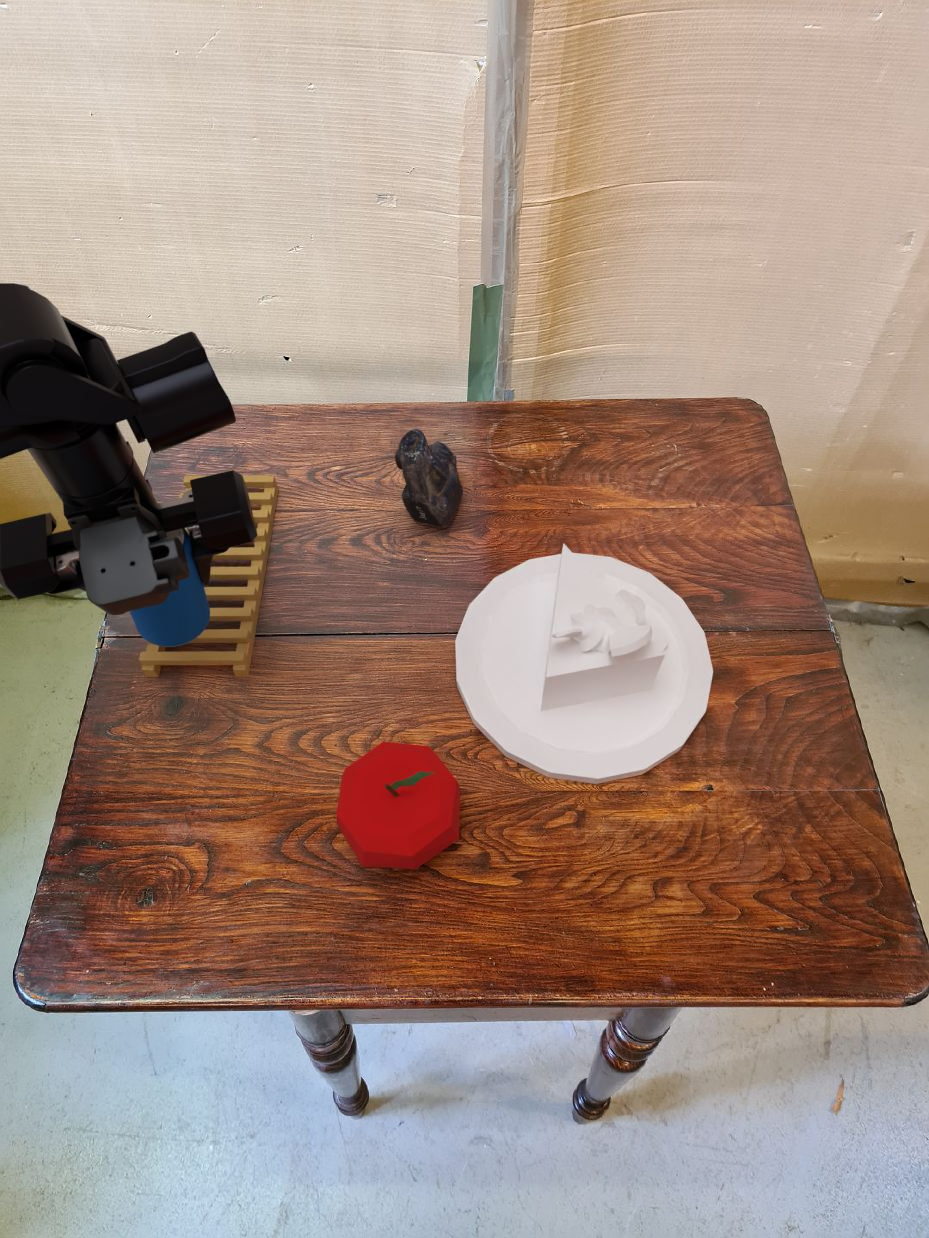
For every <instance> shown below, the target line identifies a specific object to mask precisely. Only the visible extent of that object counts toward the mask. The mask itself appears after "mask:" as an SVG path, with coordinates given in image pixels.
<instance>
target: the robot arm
mask: <svg viewBox="0 0 929 1238" xmlns="http://www.w3.org/2000/svg"><path fill="white" fill-rule="evenodd" d="M125 420H126V421H127V424H128V426H129V428H130V430H131V432H132V434H133V436H134V438H135V440H136V442H137V444H138V445H140V444H141V443H145V442H147V443H148V446H149V447H150V449H151V452H152V454H154V455H155V454H156V453H159V452H162V451H165V450H168V449H171V448H173V447H176V446H180V445H181V444H184V443H186V442H189V441H192V440H194V439H196V438H199V437H202V436H204V435H208V434H210V433H212V432H215V431H217V430H219V429H222V428H225V427H227V426H231V425H233V424H236V423H237V418H236V414H235V410H234V408H233V404H232V402H231V399H230V398H229V396H228V394H227V393H226V391H225V389H224V388H223V385H222V384H221V383H220V381H219V379H218V376H217V375H216V372H215V370H214V368H213V366H212V364H211V362H210V360H209V357H208V355H207V351H206V349H205V347H204V346H203V344H202V342H201V340H200V339H199V337H198V336H197V334H196V333H195V332H194V331H188V332H185V333H182V334H179V335H177V336H174V337H173V338H171V339H169V340H168V341H166V342H164V343H162V344H159V345H156V346H153V347H150V348H147V349H145V350H143V351H139V352H137V353H133V354H131V355H128V356H125V357H121V358H119V359H116V356H115V355H114V352H113V351H112V348H111V347H110V345H109V343H108V341H107V339H106V338H105V336H103V335H101V334H99V333H97V332H95V331H94V330H91V329H89V328H88V327H85V326H83V325H81V324H79V323H78V322H76V321H73V320H71V319H70V318H68V317H66V316H63V315H62V314H61V313H60V311H59V309H58V307H56V305H54V304H53V303H52V301H50V299H49V298H47V297H46V296H44V295H43V294H40V293H39V292H36V291H35V290H33V289H31V288H30V287H29V286H27V285H25V284H20V283H15V282H14V283H13V282H5V283H3V282H0V460H2V459H4V458H7V457H10V456H12V455H15V454H18V453H20V452H23V451H26V450H27V451H28V453H29V454H30V456H31V457H32V459H33V460H34V461H35V463H36V464H37V466H38V467H39V469H40V471H41V472H42V473H43V475H44V476H45V478H46V480H47V481H48V483H49V484H50V485H51V487H52V488H53V490H54V491H55V493H56V494H57V496H58V498H59V499H60V501H61V502H62V507H63V516H64V518H65V519H66V521H67V525H68V526H69V527H70V529H66V530H62V531H57V532H55V530H56V529H57V527H58V525H57V519H56V518H55V517H54V515H53V514H52V513H51V512H46V513H41V514H38V515H33V516H28V517H24V518H19V519H15V520H10V521H7V522H2V523H0V586H1V587H2V588H3V589H4V590H5V591H6V593H8V594H9V595H10V597H12V598H14V599H17V601H19V600H22V599H23V600H24V599H27V598H30V597H34V596H39V595H43V594H49V595H58V594H62V593H67V592H70V591H75V590H81V591H84V592H85V593H86V598H87V599H88V601H89V602H90V603H91V604H93V605H95V607H97V608H99V609H100V610H102V611H104V612H105V613H106V614H108V615H109V616H110V615H111V616H120V615H124V614H126V613H128V612H130V611H132V610H136V609H140V608H144V607H148V606H155V605H159V604H161V603H163V602H164V601H165V600H166V599H167V598H168V595H169V592H173V591H177V590H179V585H178V583H179V581H180V580H183V579H187V578H189V576H190V572H189V567H188V563H187V559H186V555H185V551H184V547H183V544H182V542H181V541H180V540H179V538H178V537H176V536H174V537H170V538H167V535H166V532H170V531H175V530H179V529H183V528H186V529H187V531H188V533H189V536H190V542H191V548H192V554H193V559H194V560H195V561H196V565H197V569H198V572H199V576H200V579H201V581H202V582H203V585H204V587H208V586H209V585H210V583H211V580H210V571H211V567H212V561H213V560H212V558H213V555H217V554H221V553H224V552H226V551H227V550H228V549H229V548H230V547H239V546H242V545H247V544H250V543H253V542H254V541H253V540H254V539H255V538H256V537H257V530H256V528H257V526H256V523H255V521H254V517H253V512H252V510H253V509H252V505H251V503H250V499H249V494H248V493H249V490H248V488H247V486H246V484H245V481H244V478H243V475H244V474H242V473H240V472H238V471H236V470H235V469H233V470H227V471H223V472H219V473H214V474H211V475H210V474H209V475H205V476H206V477H201V478H197V479H193V480H190V483H191V490H188V491H186V492H185V491H184V492H183V493H184V494H183V495H182V497H181V498H180V499H179V498H176V499H172V500H168V501H163V502H160V503H159V502H158V501H157V499H156V498H155V496H154V491H153V487H152V484H151V483H150V481H149V479H146V478H145V476H144V474H143V472H142V470H141V468H140V467H139V464H138V462H137V460H136V458H135V456H134V455H135V454H134V450H133V448H132V446H131V444H130V443H129V441H126V439H125V437H124V435H123V433H122V431H121V430H120V429H121V428H120V427H119V425H118V423H120V422H121V423H122V422H124V421H125Z"/></svg>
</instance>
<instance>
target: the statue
mask: <svg viewBox="0 0 929 1238" xmlns="http://www.w3.org/2000/svg"><path fill="white" fill-rule="evenodd" d="M394 461H395V465H396V468H398V469H399V470H401V472H402V475H403V479H404V482H405V485H404V488H403V490H402V493H401V500H402V503H403V505H404V507H405V510H406V511H407V513H408V514H409V516H410V518H411V520H413V521H414V523H417V524H418V525H424V526H430V527H432V528H438V529H446V528H448V527H449V526H450V525H451V523H452V521H453V520H454V517H455V515H456V512H457V511H458V509H459V506H460V504H461V501H462V499H463V495H464V486H463V484H462V482H461V479H460V476H459V475H460V474H459V471H458V467H457V465H458V461H457V456H456V454H454V452H452V451H451V449H450V448H449V446H447V444H445V443H443V442H441V441H439V440H437V441H435V442H434V443H433V444H429V443H428V440H427V437H426V435H425V433H424V432H423V431H422V430H421V429H418V428H413V429H410V430H408V431H407V432H406V433H405V434H404V435H403V436H402V437H401V439H400V441H399V443H398V448H397V450H396V451H395V453H394Z"/></svg>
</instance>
